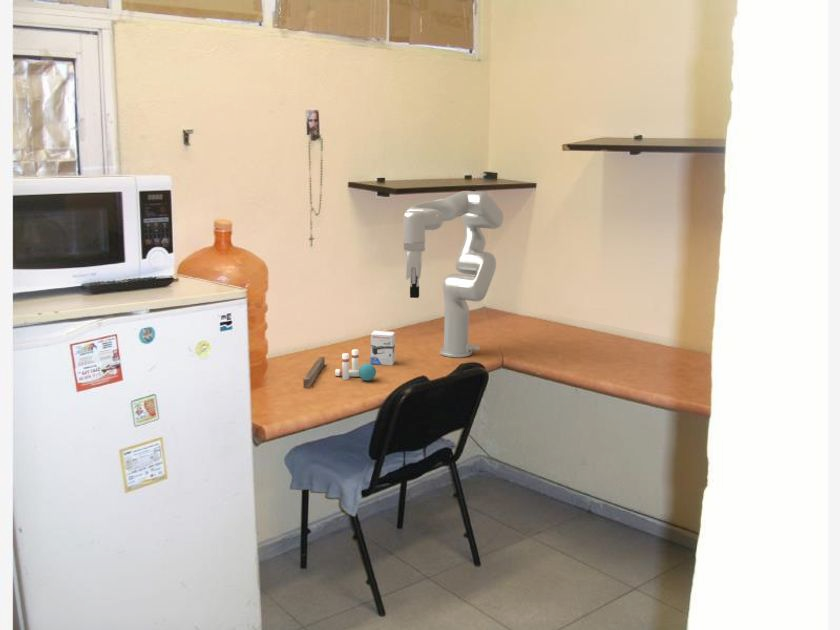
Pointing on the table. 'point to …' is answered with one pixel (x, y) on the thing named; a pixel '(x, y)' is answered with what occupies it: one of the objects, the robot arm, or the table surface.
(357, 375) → the pin front
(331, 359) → the table surface
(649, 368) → the table surface
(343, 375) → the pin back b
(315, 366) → the bar
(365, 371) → the ball
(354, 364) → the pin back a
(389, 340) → the ink box
